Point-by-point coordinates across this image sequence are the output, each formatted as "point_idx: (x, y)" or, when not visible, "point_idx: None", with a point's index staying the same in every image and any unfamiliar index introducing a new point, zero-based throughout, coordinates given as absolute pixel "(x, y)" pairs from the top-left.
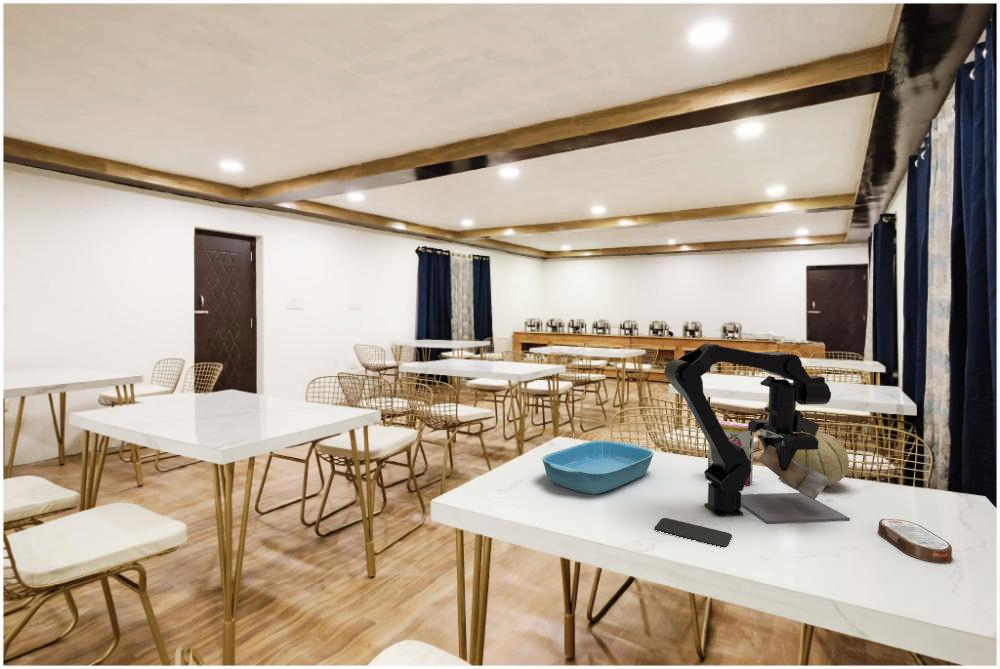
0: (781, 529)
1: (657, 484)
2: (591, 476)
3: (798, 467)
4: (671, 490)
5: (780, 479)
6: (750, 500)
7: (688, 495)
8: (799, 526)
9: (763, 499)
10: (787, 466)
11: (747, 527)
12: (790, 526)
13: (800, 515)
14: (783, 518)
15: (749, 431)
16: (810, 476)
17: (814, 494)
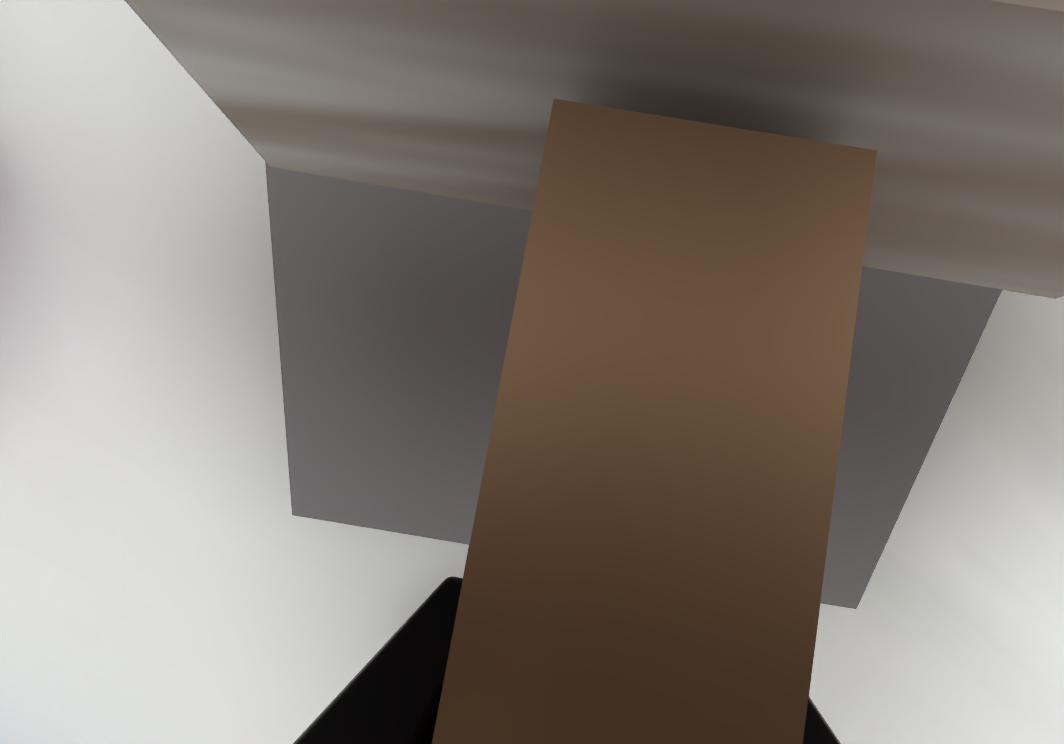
0: (979, 572)
1: (57, 738)
2: None
3: (834, 442)
4: (164, 729)
5: (323, 172)
6: (435, 444)
7: (255, 699)
8: (1016, 413)
9: (425, 317)
10: (808, 727)
11: (839, 720)
12: (975, 478)
13: (894, 277)
14: (872, 469)
15: None
16: (959, 121)
17: None
